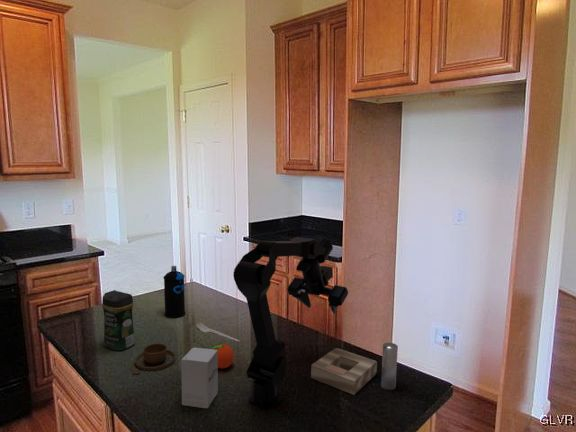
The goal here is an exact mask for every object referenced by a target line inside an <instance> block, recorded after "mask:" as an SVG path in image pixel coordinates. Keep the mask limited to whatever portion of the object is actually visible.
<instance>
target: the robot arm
mask: <svg viewBox="0 0 576 432" xmlns="http://www.w3.org/2000/svg"><path fill="white" fill-rule="evenodd" d="M325 237H326V236H324V235H318V237H317V238H316V239H315V238H307V237H299V236H296V237H292V238H291V239H290V240H289V241H287V240H286V241H283V240H281V241H280V240H278V241H273V240H261V241H259V242H258V243H257V245H255V247H254V248H253V249H252V250H250V251H248V252H247V253H245V254H244V255H242V257H241V259H239V261H238V262H237V264H236V265H235V267H234V269H233V274H232V275H233V280H234V282H235V285H236V287H237V290H239V292H240V293H241V294H242V295H243V296H244V298H246V302H247V307H248V311H249V317H250V319H251V320H250V321H251V324H252V328H253V332H254V333H253V334H254V338H255V343H256V344H255V347H254V349H253V352H252V359H251V360H250V363H249V365H248V367H247V369H246V371H245V372H246V373H245V374H246V376H247V378H248V379H251V380H253V382H252V384H253V385H252V387H253V388H252V392H253V393H252V394H253V395H252V396H251V397H250V398H249V399H248V402H249V404H253V405H254V406H256V407H258V408H260V409H262V410H265V411H268V410H270V409H272V408H273V407H275V406H276V405H277V404H278V403H280V402H281V401H282V400H283V397H282V396H281V395H278V394H279V385H280V383H282V382H283V381H284V379H285V375H286V370H287V364H288V360H287V355H288V353H287V350H286V344H285V342H284V341H282V340H280V339H276V334H275V329H274V325H273V320H272V316H271V315H272V314H271V310H270V306H269V305H270V304H269V300H268V296H267V293H268V291H269V289H270V286H271V279H272V278H273V275H274V274H275V272H276V270H277V266H276V265H277V263H276V262H277V261H276V260H277V259H278V258H280V257H295V258H296V257H297V258H301V259H300V260H299V261H298V264H297V266H296V268H295V270H296V271H299V272H301V274H302V277H303V278H300V277H294V278H293V279H292V280H291V282H290V283H288V284H289V285H288V286H287V289H286V290H287V293H288V295H289V296H292V297H293V298H295V299H296V300H297V301H299V302H300V303H301V304H303V305H304V306H305V307H306V308H307V309H311V307H312V304H311V300H310V296H309V295H313V296H317V297H320V295H324V296H327V298H328V299H327V301H328V307H329V309H330V310H331V311H332V313H333V314H334V315H336V314H337V311H338V307H340V306H342V305H343V304H344V302H345V300H346V298H347V297H348V295H349V290H348V288H347V286H342V285H337V284H336V285H335V284H334V286H333V287H332V288H330V287H326V286H328V285H329V284H330V283H329V281H330V279H333V278H334V276H333V273H334V271H333V270H334V269H333V267H332V266H328V265H321V264H324V263H325V262H326V260H327V258H329V256H330V254H331V253H332V251H333V249H334V247H333V246H334V245H333V244H332V243H331V242H330V241H329V240H327V239H326V238H325ZM263 257H265V258H268V261H267V263H266V264H263V263H257V262H258V261H259V260H261V259H262V258H263Z"/></svg>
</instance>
